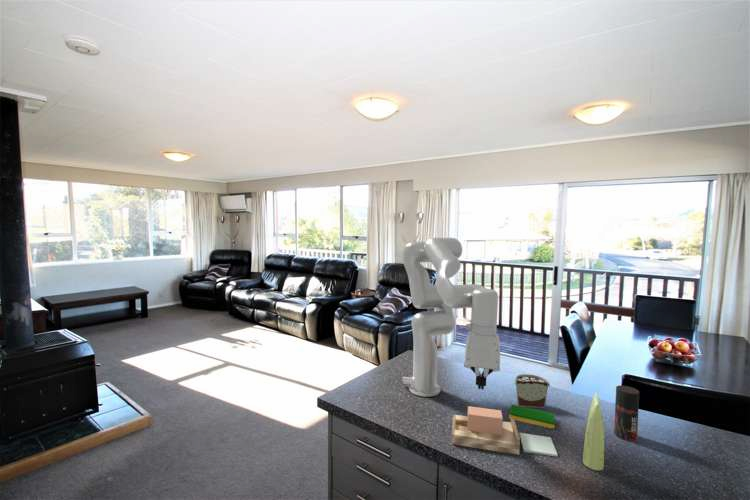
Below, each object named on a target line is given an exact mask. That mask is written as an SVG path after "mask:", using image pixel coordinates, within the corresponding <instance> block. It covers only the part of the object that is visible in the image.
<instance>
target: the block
mask: <svg viewBox="0 0 750 500" xmlns="http://www.w3.org/2000/svg"><path fill="white" fill-rule="evenodd" d="M467 417H468V431H473V432H479V433H486V434H493V435H500V436H502V428H503V422H504V421H503V420H504V419H503V413H502V410H501V409H500V410H499V409H495V408H494V409H492V408H487V407H486V408H485V407H479V406H478V407H477V406H469V405H468V406H467Z"/></svg>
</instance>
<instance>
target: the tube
mask: <svg viewBox="0 0 750 500" xmlns="http://www.w3.org/2000/svg"><path fill="white" fill-rule="evenodd" d="M601 407H602V406H601V403H600V399H599V396H598V392H597V391H595V394H594V396H593V398H592V401H591V405H590V409H589V412H588V418H587V422H586V427H585V436H584V444H583V455H582V463H583V465H584V466H585V467H587V468H588V469H590V470H593V471H603V470H604V466H605V464H604V463H605V431H604V428H605V427H604V421H603V415H602V408H601Z"/></svg>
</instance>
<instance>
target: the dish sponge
mask: <svg viewBox="0 0 750 500" xmlns="http://www.w3.org/2000/svg"><path fill="white" fill-rule="evenodd" d="M508 414H509V415H508V419H510V420H511V418H514V419H515V421H516V422H517V421H518V422H521V423H526V424H529V423H530V424H531V425H534V424H535V425H534V426H538V425H539V426H538V427H542V426H543V427H542V428H546V427H548V429H551V428H554V429H555V414H554V413H551V412H547V411H544V410H543V411H542V410H538V409H533V408H530V407H521V406H518V405H515V404H511V405H510V408H509V413H508Z"/></svg>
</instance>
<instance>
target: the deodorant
mask: <svg viewBox="0 0 750 500" xmlns="http://www.w3.org/2000/svg"><path fill="white" fill-rule="evenodd" d="M614 404H615V405H614V406H615V409H614V422H613V423H614V425H613V427H614V428H613V434H614V436H616V437H617V438H618V439H621V440H623V441H627V442H637V440H638V428H639V426H638V424H639V409H640V408H639V406H640V391H639V389H636V388H634V387H631V386H627V385H617V386H616V387H615V403H614Z"/></svg>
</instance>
